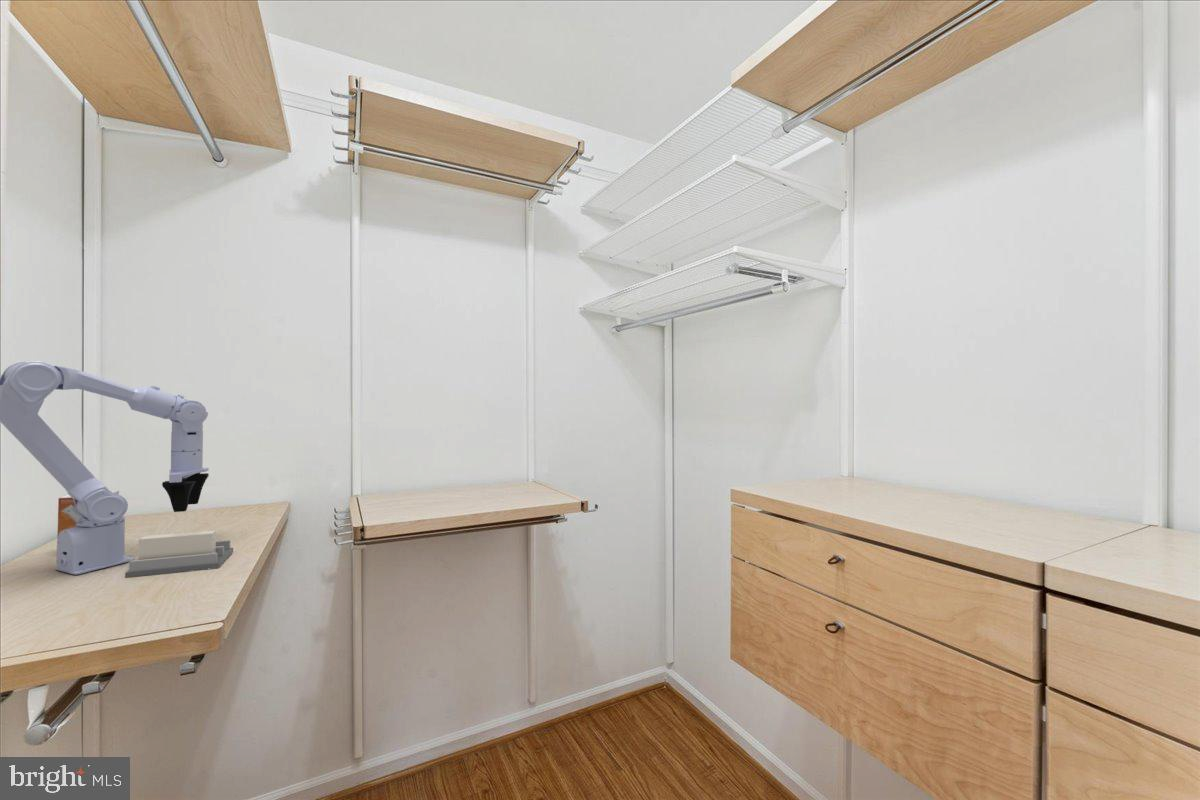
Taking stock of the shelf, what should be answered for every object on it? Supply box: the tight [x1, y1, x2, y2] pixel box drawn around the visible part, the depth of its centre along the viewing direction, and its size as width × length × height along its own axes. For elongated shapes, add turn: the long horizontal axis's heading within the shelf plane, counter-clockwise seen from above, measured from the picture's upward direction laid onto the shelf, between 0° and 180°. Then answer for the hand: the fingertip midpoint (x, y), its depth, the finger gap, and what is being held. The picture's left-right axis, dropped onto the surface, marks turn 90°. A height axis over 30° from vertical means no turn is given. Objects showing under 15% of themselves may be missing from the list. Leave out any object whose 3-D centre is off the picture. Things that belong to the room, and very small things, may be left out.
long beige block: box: [137, 529, 217, 560], centre depth 101 cm, size 12×3×6 cm, turn 115°
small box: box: [56, 490, 120, 540], centre depth 111 cm, size 8×6×13 cm
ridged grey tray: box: [124, 539, 234, 579], centre depth 103 cm, size 15×11×3 cm
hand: (186, 507), depth 114 cm, fingers open, 7 cm apart
